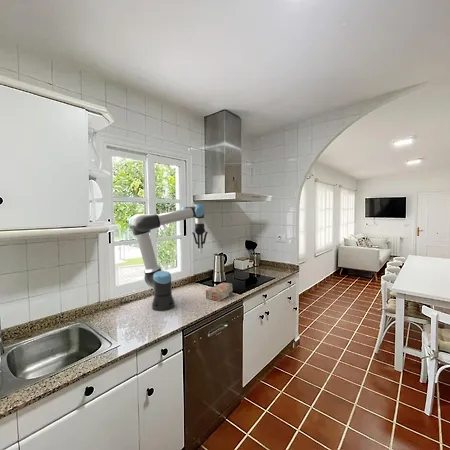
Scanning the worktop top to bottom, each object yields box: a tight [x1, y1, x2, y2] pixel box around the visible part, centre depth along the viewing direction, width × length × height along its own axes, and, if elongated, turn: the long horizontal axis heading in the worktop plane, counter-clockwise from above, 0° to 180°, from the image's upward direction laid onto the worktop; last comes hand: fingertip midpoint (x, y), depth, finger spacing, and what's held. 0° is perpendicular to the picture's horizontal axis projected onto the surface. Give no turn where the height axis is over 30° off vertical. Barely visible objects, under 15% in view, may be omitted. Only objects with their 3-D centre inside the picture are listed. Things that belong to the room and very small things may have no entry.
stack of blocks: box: [205, 282, 233, 302], centre depth 189 cm, size 21×6×12 cm
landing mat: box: [226, 291, 235, 298], centre depth 198 cm, size 10×22×1 cm, turn 18°
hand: (200, 252), depth 203 cm, fingers closed
